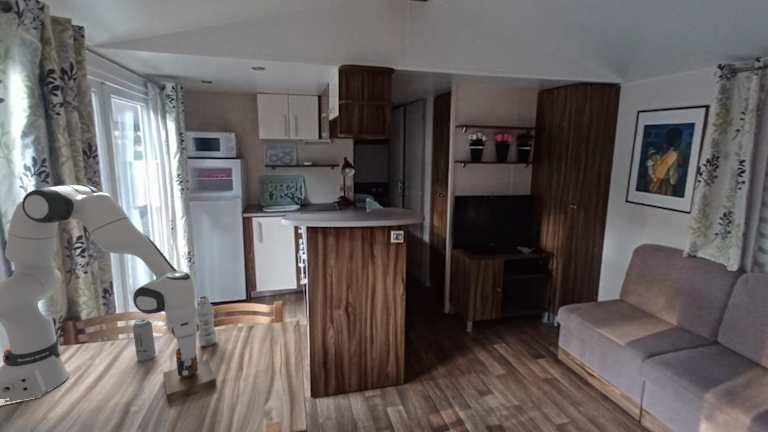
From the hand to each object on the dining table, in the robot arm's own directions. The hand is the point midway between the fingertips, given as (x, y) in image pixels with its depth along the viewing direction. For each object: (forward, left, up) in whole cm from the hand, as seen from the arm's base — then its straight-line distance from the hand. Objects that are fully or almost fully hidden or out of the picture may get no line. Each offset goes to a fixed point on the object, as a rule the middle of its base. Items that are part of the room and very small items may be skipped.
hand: (186, 359), depth 124 cm
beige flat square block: (0, 0, -9) cm, 9 cm away
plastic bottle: (+10, +24, -9) cm, 28 cm away
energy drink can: (-11, +27, -9) cm, 30 cm away
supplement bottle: (0, 0, -5) cm, 5 cm away
